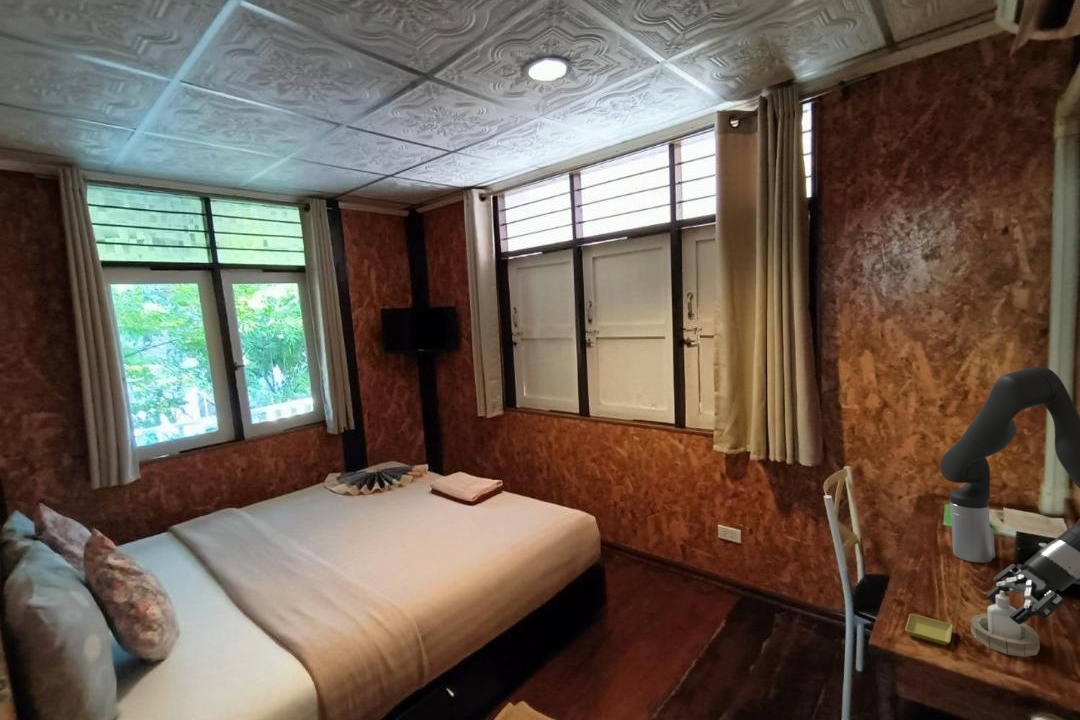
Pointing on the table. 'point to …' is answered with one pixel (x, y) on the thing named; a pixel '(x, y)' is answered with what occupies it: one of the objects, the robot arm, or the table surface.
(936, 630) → the yellow square tray
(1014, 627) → the eye dropper bottle
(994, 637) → the birch ring collar
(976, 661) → the table surface
